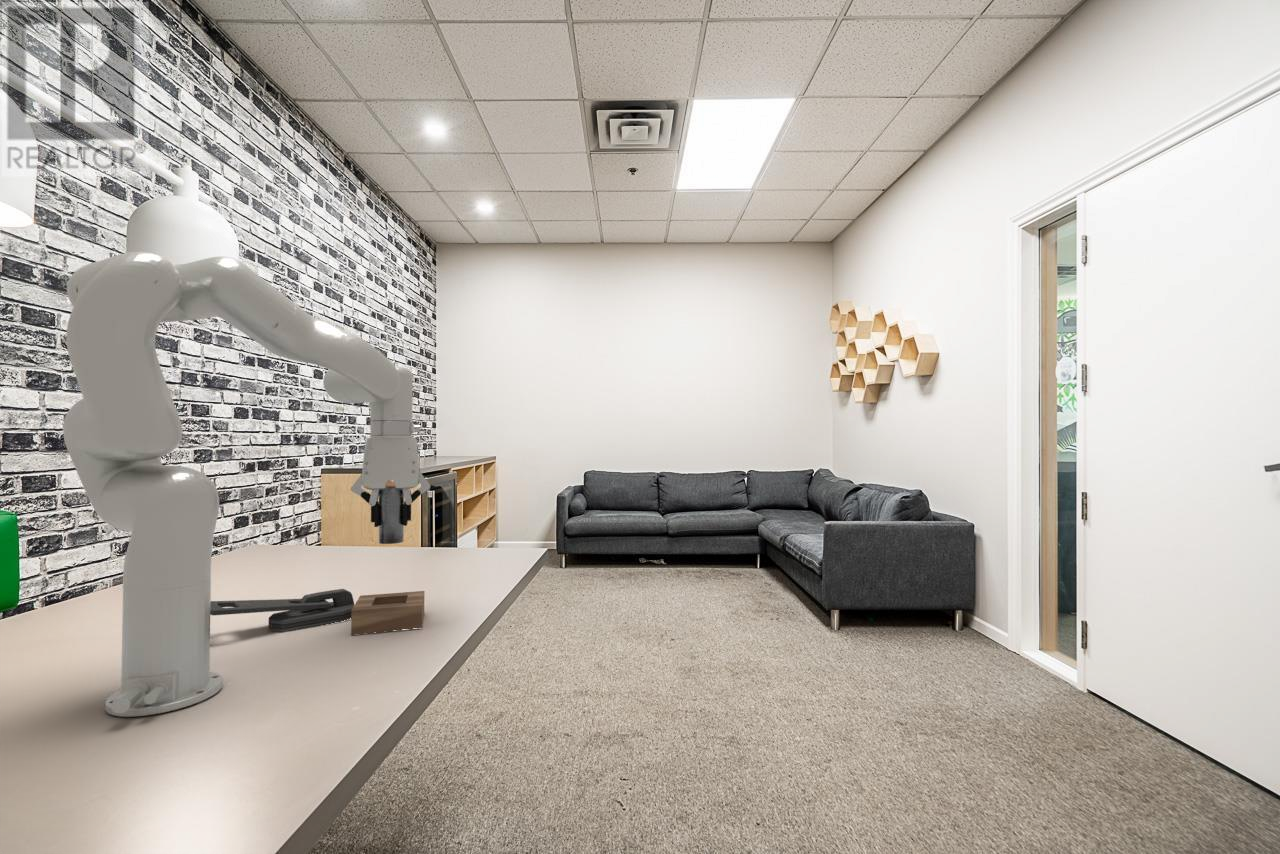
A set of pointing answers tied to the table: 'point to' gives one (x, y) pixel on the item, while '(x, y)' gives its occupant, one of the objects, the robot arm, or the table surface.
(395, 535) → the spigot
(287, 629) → the zipper pull
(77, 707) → the table surface
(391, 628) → the socket block
